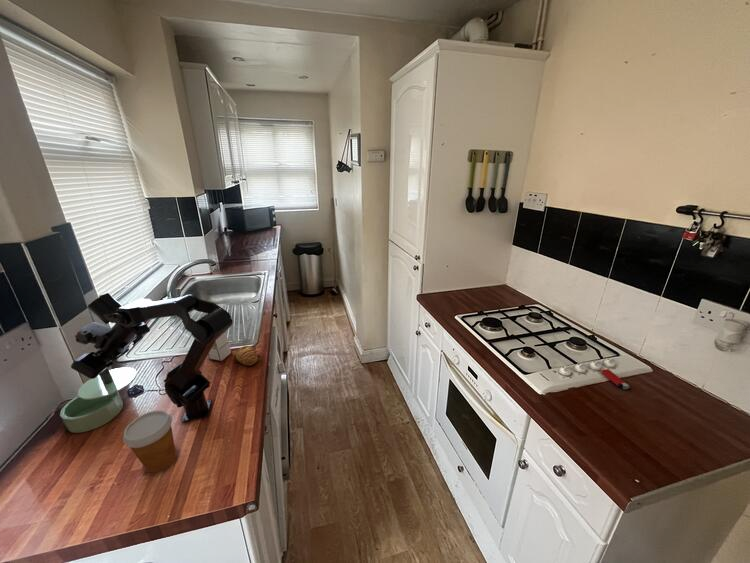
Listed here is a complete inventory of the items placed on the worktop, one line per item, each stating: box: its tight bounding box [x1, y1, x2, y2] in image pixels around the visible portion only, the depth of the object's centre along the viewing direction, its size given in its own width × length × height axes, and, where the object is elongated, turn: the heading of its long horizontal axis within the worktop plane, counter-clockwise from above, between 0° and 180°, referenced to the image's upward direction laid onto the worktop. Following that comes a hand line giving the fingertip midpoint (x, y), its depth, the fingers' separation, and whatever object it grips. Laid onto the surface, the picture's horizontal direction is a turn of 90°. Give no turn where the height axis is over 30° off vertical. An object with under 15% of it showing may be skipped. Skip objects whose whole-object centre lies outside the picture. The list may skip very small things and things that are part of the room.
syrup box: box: [207, 331, 232, 362], centre depth 113 cm, size 6×6×14 cm
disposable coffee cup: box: [122, 410, 177, 474], centre depth 73 cm, size 10×10×12 cm
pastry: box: [235, 345, 259, 366], centre depth 112 cm, size 9×7×4 cm
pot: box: [59, 391, 124, 434], centre depth 89 cm, size 13×13×5 cm
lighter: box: [600, 368, 630, 390], centre depth 98 cm, size 3×1×8 cm
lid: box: [77, 366, 138, 400], centre depth 90 cm, size 14×14×9 cm
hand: (97, 367), depth 89 cm, fingers closed on lid, 2 cm apart
